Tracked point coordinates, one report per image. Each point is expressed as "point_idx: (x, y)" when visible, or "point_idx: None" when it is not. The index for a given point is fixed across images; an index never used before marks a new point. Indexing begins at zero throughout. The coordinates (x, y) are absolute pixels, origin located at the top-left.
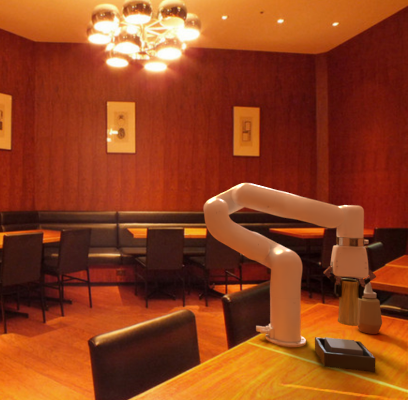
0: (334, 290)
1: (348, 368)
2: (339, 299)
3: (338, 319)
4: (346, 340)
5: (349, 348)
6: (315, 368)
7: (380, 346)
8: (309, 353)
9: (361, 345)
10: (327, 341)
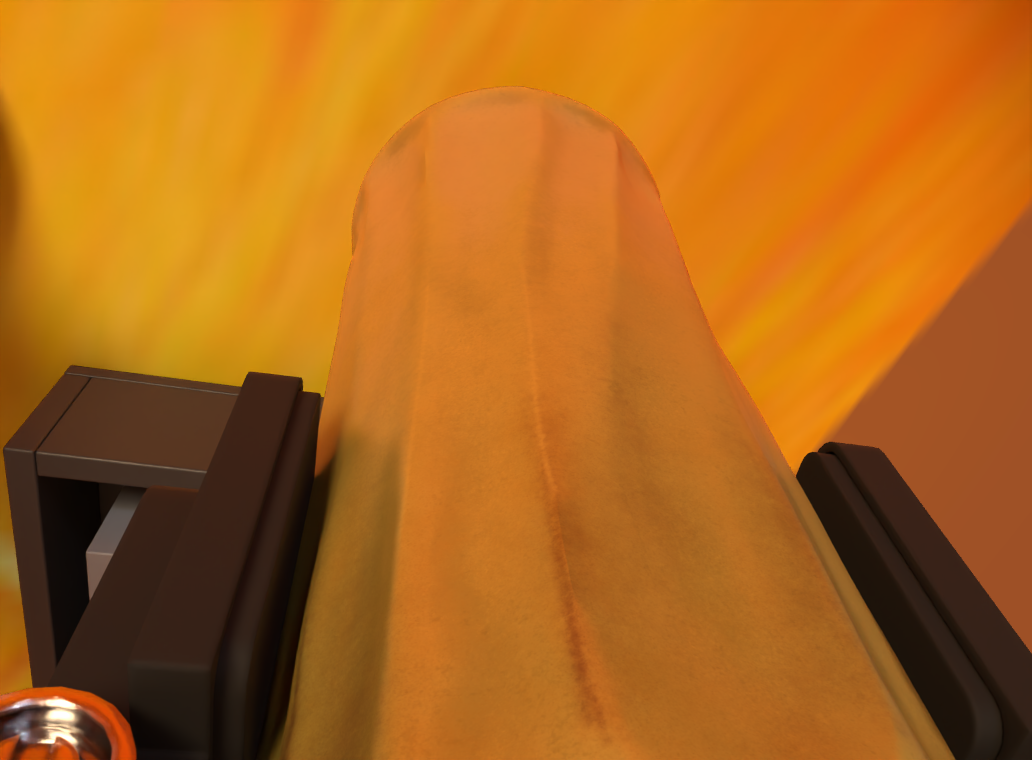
0: (132, 517)
1: None
2: (320, 436)
3: (358, 231)
4: None
5: None
6: (26, 666)
7: (855, 140)
8: (10, 419)
9: None
10: None
